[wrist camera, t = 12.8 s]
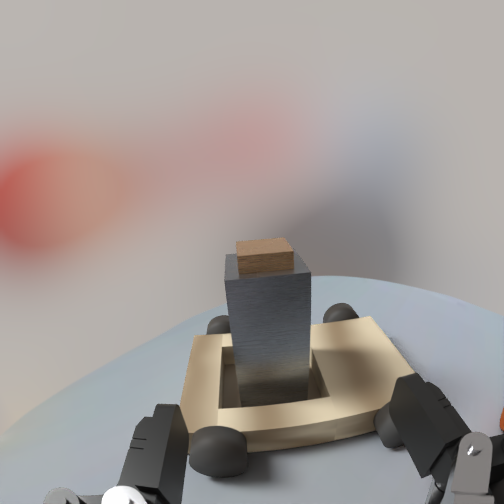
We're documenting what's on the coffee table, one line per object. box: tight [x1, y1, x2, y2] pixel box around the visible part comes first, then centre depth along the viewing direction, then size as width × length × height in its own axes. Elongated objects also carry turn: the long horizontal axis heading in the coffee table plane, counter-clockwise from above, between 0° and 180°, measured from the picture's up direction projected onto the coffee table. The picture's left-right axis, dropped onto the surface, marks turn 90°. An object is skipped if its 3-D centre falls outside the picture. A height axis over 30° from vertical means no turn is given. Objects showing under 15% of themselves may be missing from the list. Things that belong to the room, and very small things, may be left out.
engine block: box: [224, 238, 311, 408], centre depth 18 cm, size 4×4×11 cm
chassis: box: [180, 303, 415, 477], centre depth 20 cm, size 16×15×3 cm
